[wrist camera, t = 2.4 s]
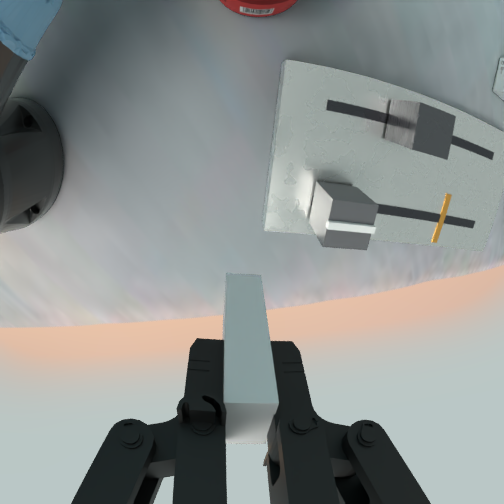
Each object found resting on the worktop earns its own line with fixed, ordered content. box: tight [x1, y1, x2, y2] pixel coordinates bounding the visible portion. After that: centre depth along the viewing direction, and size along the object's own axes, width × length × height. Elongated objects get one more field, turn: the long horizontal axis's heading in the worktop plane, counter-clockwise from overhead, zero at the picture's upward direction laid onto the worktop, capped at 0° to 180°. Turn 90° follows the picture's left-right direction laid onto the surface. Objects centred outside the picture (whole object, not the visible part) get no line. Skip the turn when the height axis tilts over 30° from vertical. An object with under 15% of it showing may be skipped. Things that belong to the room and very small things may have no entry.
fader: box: [309, 181, 379, 250], centre depth 25 cm, size 4×4×5 cm
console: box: [262, 59, 504, 252], centre depth 26 cm, size 30×16×8 cm, turn 84°
